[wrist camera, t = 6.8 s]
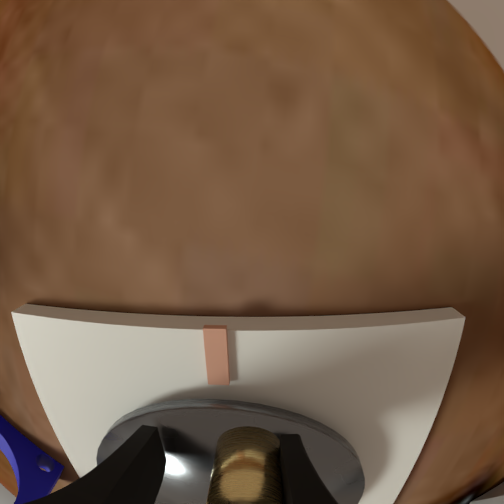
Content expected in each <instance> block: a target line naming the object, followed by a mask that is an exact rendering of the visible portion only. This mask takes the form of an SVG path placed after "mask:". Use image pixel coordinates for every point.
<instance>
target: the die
mask: <svg viewBox="0 0 504 504" xmlns="http://www.w3.org/2000/svg"><path fill="white" fill-rule="evenodd" d="M470 504H504V482H503V483H501V484H500V485H498V486H497V487H495V488H493V489H492V490H490V491H488V492H487V493H485V494H483V495H482V496H480V497H478V498H476V499H475V500H473V501H471V502H470Z"/></svg>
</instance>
